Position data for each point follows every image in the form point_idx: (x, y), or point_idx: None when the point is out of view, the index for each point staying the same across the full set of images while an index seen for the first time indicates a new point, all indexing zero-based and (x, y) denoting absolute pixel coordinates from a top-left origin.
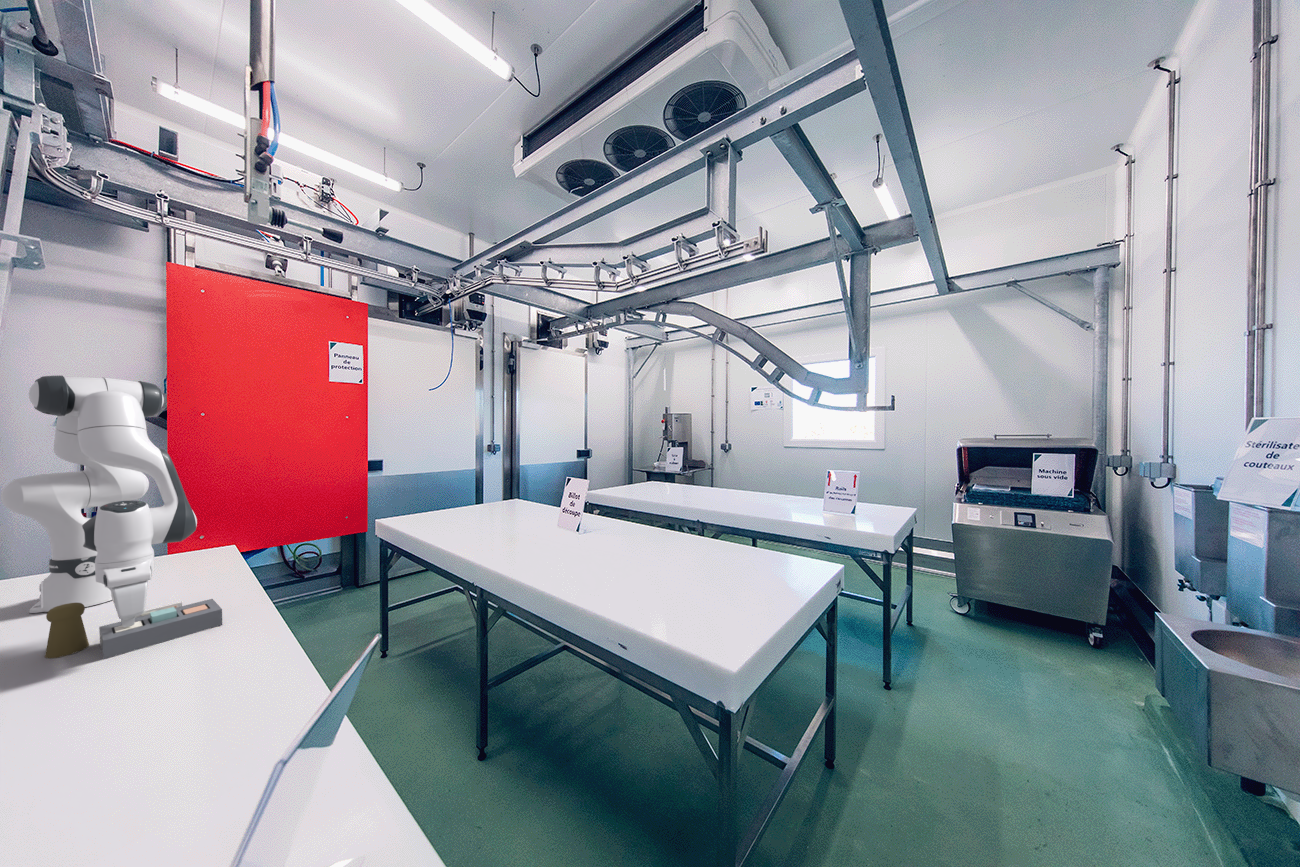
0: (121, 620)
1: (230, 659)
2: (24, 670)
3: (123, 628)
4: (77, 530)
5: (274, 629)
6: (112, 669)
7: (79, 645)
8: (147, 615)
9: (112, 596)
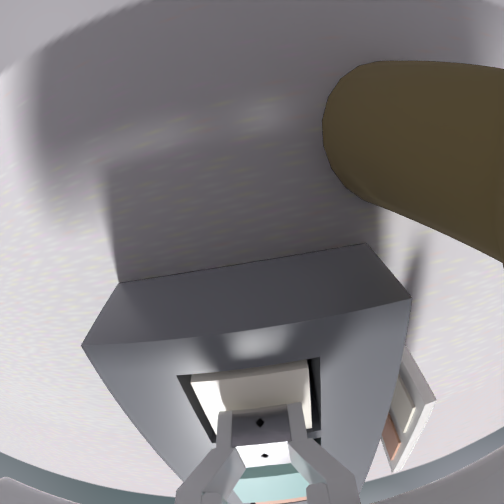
0: (284, 427)
1: (11, 431)
2: (239, 10)
3: (236, 400)
4: None
5: (115, 487)
6: (19, 309)
7: (354, 186)
8: (374, 426)
9: (498, 495)
